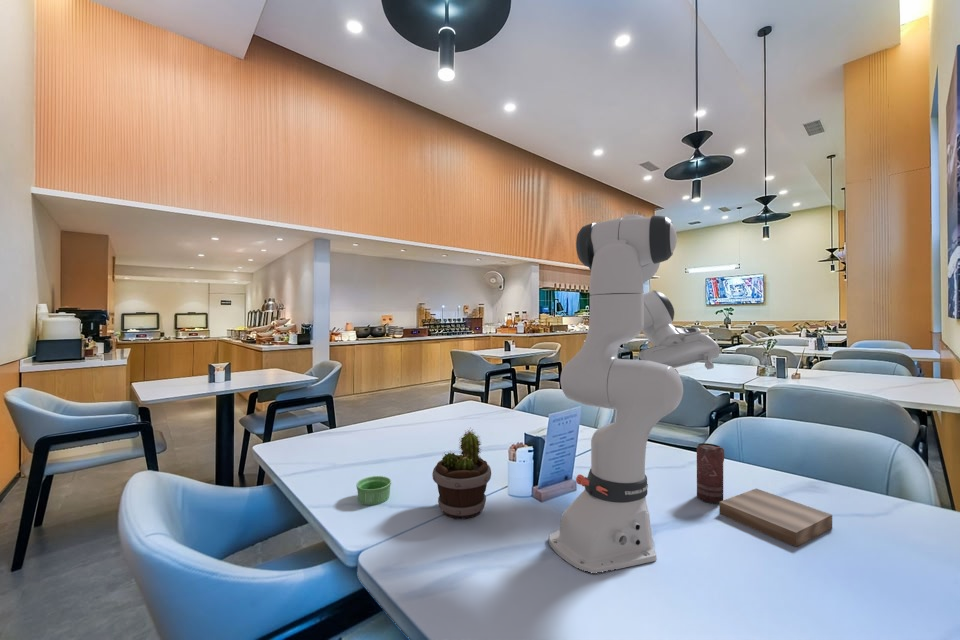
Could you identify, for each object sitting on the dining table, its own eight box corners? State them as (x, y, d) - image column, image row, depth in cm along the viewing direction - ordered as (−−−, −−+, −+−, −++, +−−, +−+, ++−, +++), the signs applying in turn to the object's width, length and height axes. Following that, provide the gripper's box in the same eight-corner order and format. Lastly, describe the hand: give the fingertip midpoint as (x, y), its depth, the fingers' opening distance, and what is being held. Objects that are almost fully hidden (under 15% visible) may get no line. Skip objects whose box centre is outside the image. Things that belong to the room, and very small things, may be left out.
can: (728, 505, 102) (728, 450, 102) (701, 503, 103) (701, 449, 103) (719, 495, 108) (719, 443, 108) (693, 493, 109) (693, 441, 109)
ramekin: (398, 498, 107) (397, 482, 107) (368, 510, 101) (368, 492, 101) (379, 488, 113) (379, 473, 113) (350, 499, 107) (349, 482, 107)
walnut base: (796, 547, 83) (796, 532, 83) (719, 514, 97) (719, 501, 97) (832, 527, 91) (832, 514, 91) (756, 499, 105) (756, 488, 105)
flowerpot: (463, 532, 90) (463, 443, 90) (420, 510, 100) (419, 430, 100) (504, 509, 100) (504, 429, 100) (461, 491, 111) (461, 419, 111)
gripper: (634, 343, 121) (654, 372, 109) (703, 326, 119) (731, 353, 107) (636, 359, 124) (655, 389, 112) (703, 343, 122) (730, 371, 110)
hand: (693, 371), depth 109 cm, fingers open, 8 cm apart
